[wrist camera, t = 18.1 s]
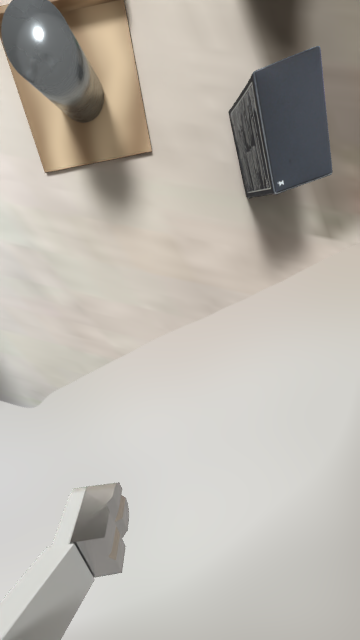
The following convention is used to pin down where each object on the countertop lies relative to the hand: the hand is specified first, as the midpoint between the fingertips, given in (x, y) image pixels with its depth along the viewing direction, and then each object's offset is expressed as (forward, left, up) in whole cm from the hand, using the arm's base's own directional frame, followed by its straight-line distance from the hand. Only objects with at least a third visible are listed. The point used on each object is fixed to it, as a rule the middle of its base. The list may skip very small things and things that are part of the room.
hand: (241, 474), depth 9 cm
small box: (+12, +13, -34) cm, 39 cm away
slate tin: (-9, +22, -34) cm, 41 cm away
